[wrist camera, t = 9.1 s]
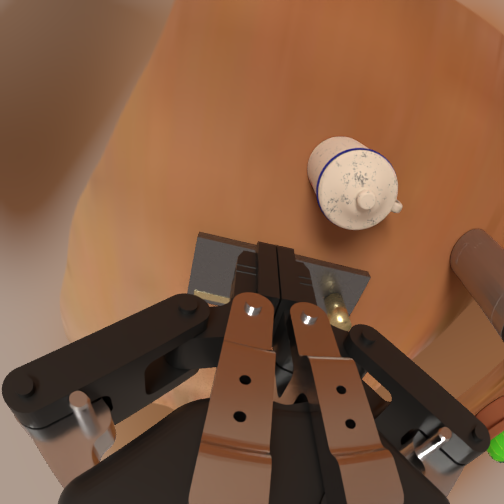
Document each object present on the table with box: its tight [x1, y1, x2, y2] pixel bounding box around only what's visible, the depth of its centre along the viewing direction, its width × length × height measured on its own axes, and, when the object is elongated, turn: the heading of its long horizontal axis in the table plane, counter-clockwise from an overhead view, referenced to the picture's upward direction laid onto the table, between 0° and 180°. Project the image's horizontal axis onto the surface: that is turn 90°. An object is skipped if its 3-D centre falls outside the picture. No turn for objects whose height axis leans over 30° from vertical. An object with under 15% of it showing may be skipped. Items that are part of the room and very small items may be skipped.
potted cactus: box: [475, 396, 504, 463], centre depth 66 cm, size 22×22×25 cm
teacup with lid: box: [307, 137, 402, 230], centre depth 33 cm, size 12×9×12 cm
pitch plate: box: [187, 232, 371, 331], centre depth 44 cm, size 26×11×8 cm, turn 75°
